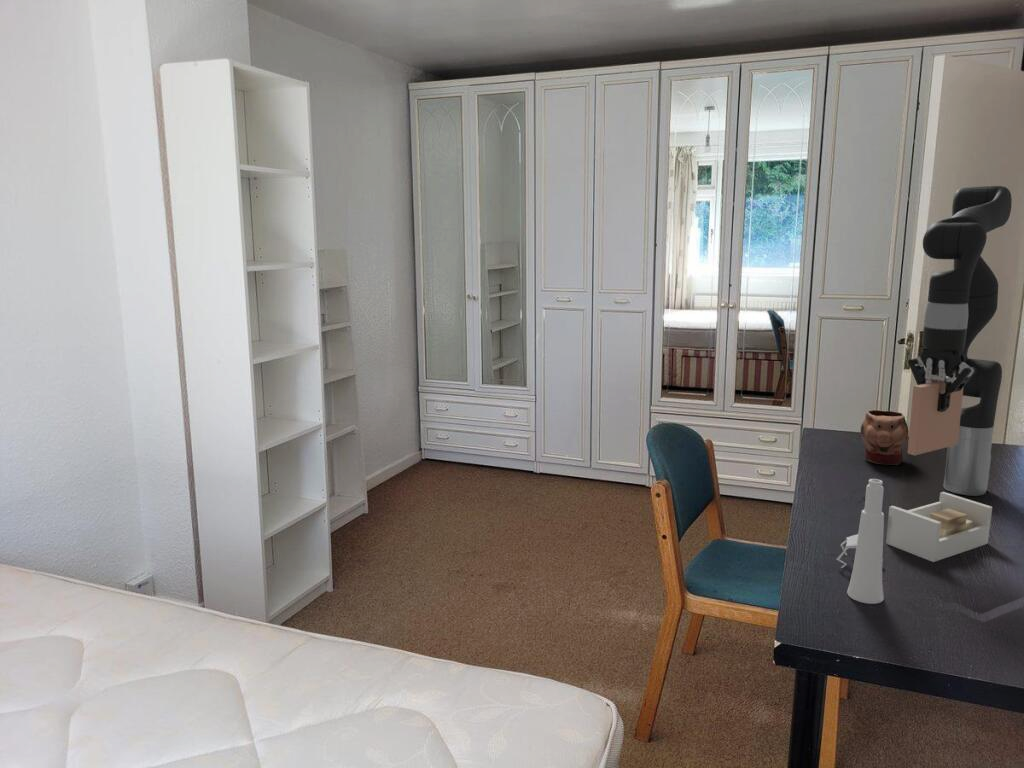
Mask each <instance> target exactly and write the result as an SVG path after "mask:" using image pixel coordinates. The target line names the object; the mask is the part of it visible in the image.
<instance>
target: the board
mask: <svg viewBox="0 0 1024 768" xmlns="http://www.w3.org/2000/svg"><path fill="white" fill-rule="evenodd" d="M955 379H956V378H955ZM953 382H954V381H953ZM912 388H913V389H912V399H911V411H910V421H909V422H910V423H909V429H908V430H909V434H908V442H907V444H908V445H907V454H908V455H911V456H918V455H922V454H927V453H929V452H934V451H938V450H941V449H945V448H948V447H950V446H954V445H958V436H959V426H960V416H961V408H963V406H962V405H963V398H964V397H963V388H962V390H961V391H957V392H952V393H951V395H950V403H949V408H948V409H947V410H946V411H943V412H939V411H937V406H938V396H939V394H940V392H939V388H940V382H939V381H937V382H932V383H926V384H921V385H917V384H916V385H913V387H912Z"/></svg>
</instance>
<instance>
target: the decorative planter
mask: <svg viewBox="0 0 1024 768" xmlns="http://www.w3.org/2000/svg"><path fill="white" fill-rule="evenodd" d="M909 430H910V429H909V426H908V423H907V421H906V417H905V415H904V413H902V412H899V411H893V410H882V409H875V410H874V409H871V410H867V411H866V413H865V417H864V420H863V421H862V423H861V425H860V436H861V438H862V441H863V444H864V448H865V454H864V458H865V460H866V461H868V462H870V463H873V464H879V465H885V466H886V465H887V466H898V465H900V464H901V463H902V460H903V446H904V444H905V442H907V440H908V439H909Z"/></svg>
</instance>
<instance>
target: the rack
mask: <svg viewBox="0 0 1024 768" xmlns="http://www.w3.org/2000/svg"><path fill="white" fill-rule="evenodd" d="M938 500H939V501H937V502H933V503H929V504H926V505H922V506H919V507H914V508H911V509H908V510H907V509H903V508H901V507H898V506H895V505H891V506H889V507H888V508H889V509H888V517H887V518H888V519H887V530H886V536H885V538H886V539H885V544H886V545H889V546H892V547H894V548H896V549H899V550H902V551H905V552H907V553H910V554H912V555H915V556H917V557H919V558H922V559H925V560H927V561H929V562H932V563H934V562H938V561H941V560H943V559H946V558H950V557H952V556H955V555H958V554H961V553H964V552H967V551H970V550H973V549H976V548H979V547H982V546H985V545H987V544H988V543H989V537H990V528H991V523H992V522H991V520H992V514H993V512H992V511H993V506H991V505H987V504H984V503H981V502H978V501H974V500H972V499H968V498H965V497H962V496H959V495H955V494H953V493H949V492H945V491H942V492H940V493H939V499H938ZM947 508H949V509H952V510H955V511H958V512H961V513H964V514H967V518H966V519H967V520H970V521H973V527H972V529H969V530H966V531H962V532H959V533H956V534H953V535H950V536H947V537H944V538H941V539H940V531H941V522H939V521H936V520H933V519H930V518H929V516H930V513H933V512H937V511H940V510H944V509H947Z"/></svg>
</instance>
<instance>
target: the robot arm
mask: <svg viewBox="0 0 1024 768" xmlns="http://www.w3.org/2000/svg"><path fill="white" fill-rule="evenodd" d="M1011 193H1012V192H1011V191H1010V189H1009V188H1008V187H1006V186H1003V185H986V186H985V185H983V186H970V187H969V186H968V187H960V188H959V189H957V190H956V191H955V193H954V195H953V199H952V204H951V205H952V206H951V207H952V208H951V210H952V211H951V217H948V218H943V219H942V220H937V221H935V222H933V223H932V224H931V225H930V226H928V228H927V230H926V231H925V233H924V235H923V237H922V248H923V251H924V253H925V255H927V256H928V257H929V258H931V259H933V260H934V259H935V260H953V269H951V270H946V271H938V272H936V273H933V274H932V275H931V276H930V279H929V285H928V297H927V303H926V308H925V314H924V320H923V323H924V324H923V331H922V332H923V333H922V342H921V347H922V351H921V352H920V355H919V356H918V357H916V358H911V359H908V361H907V363H908V366H909V368H910V370H911V373H912V375H913V377H914V380H915V382H916V385H921V384H926V383H932V382H937V381H939V382H940V388H939V392H940V394H939V396H938V406H937V411H939V412H943V411H946V410H947V409H948V408H949V403H950V395H951V393H952V392H957V391H961V390H962V388H963V396H966V397H971V398H978V399H979V398H980V401H979V403H977V404H975V405H972V406H967V407H961V416H960V426H959V436H958V445H954V446H950V447H947V452H946V460H945V467H944V469H945V470H944V478H943V489H945V490H946V491H948V492H950V493H952V494H958V495H965V496H971V497H972V496H973V497H974V496H976V497H977V496H982V495H985V494H986V491H987V490H988V485H989V476H990V470H991V469H990V468H991V460H992V453H991V451H992V444H993V436H994V426H995V421H996V420H995V418H996V414H997V413H996V412H997V406H998V399H999V394H1000V393H999V392H1000V389H1001V383H1002V378H1003V369H1002V365H1001V364H1000V362H998V361H995V360H986V359H978V358H968V352H969V349H970V347H971V344H972V343H973V341H974V340H975V338H976V337H977V336H978V335H979V334H980V332H981V331H982V330H983V329H984V328H985V327H986V326H987V325H988V324H989V322H991V320H992V319H993V317H994V316H995V314H996V312H997V310H998V305H999V303H998V300H999V281H998V279H997V277H996V275H995V274H994V272H993V271H992V269H991V267H990V266H989V265H988V264H987V262H986V261H985V260H984V258H983V257H982V253H983V251H984V248H985V246H986V242H987V238H988V237H987V233H989V232H991V231H993V230H996V229H997V228H998V229H999V228H1002V227H1003V226H1004V225H1006V223H1007V222H1008V220H1009V219H1010V216H1011V212H1012V202H1013V201H1012V194H1011ZM955 378H956V379H955ZM953 381H954V382H953Z"/></svg>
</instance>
